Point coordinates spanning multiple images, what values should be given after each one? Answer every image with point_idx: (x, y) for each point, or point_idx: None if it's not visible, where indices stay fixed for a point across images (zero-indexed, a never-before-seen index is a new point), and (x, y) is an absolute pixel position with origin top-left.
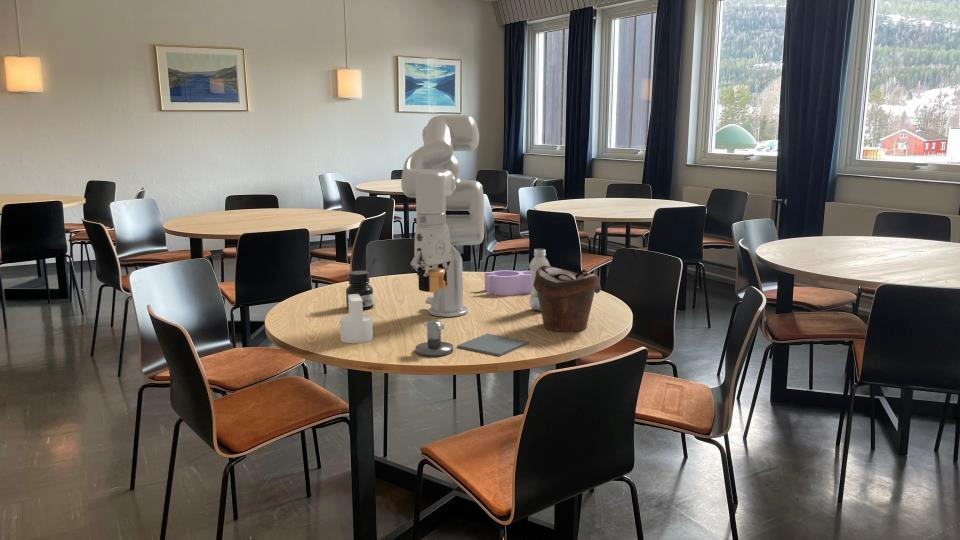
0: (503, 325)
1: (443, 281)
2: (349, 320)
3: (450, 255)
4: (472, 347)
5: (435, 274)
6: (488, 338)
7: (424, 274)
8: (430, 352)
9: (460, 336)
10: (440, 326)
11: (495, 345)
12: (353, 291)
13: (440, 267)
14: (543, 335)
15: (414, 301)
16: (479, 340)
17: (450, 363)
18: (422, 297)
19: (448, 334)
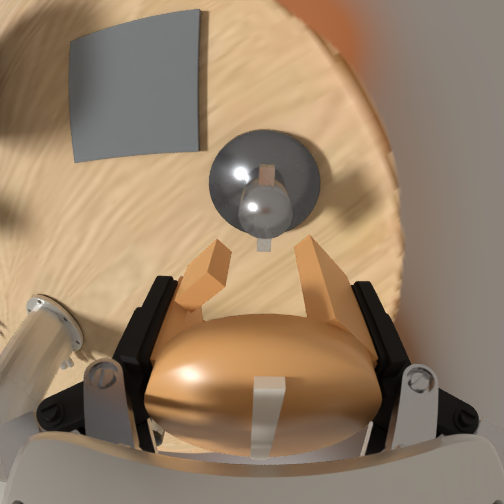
0: (19, 190)
1: (197, 297)
2: None
3: (25, 479)
4: (189, 102)
5: (354, 353)
6: (100, 127)
7: (436, 378)
8: (315, 163)
9: (121, 209)
10: (274, 174)
11: (138, 67)
12: (158, 439)
13: (136, 417)
14: (21, 72)
15: (74, 379)
16: (126, 133)
17: (332, 82)
18: (58, 377)
19: (129, 243)
